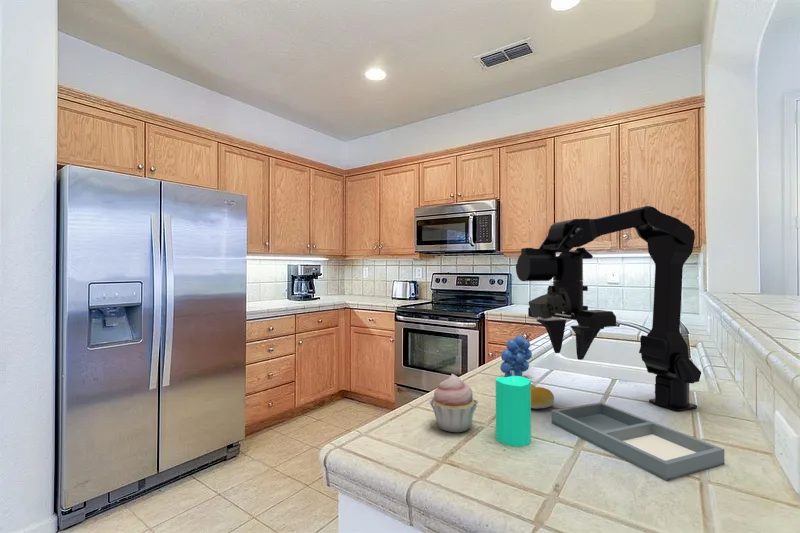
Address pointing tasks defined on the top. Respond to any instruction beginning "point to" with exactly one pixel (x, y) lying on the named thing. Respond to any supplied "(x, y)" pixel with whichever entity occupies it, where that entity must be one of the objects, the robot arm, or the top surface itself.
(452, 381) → the cupcake
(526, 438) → the candle
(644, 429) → the gray divided tray
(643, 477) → the top surface
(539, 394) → the bread roll
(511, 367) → the grapes
